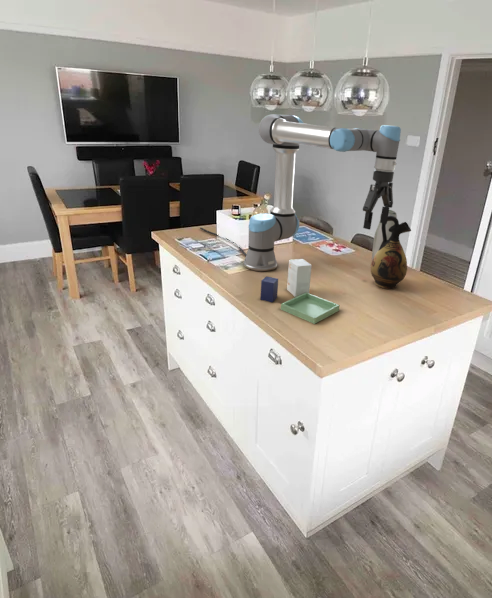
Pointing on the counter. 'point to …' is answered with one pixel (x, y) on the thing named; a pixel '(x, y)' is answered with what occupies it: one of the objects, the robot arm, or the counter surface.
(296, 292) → the small box
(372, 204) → the robot arm
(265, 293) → the navy block
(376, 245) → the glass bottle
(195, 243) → the counter surface
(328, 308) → the tray
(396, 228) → the ceramic jug
